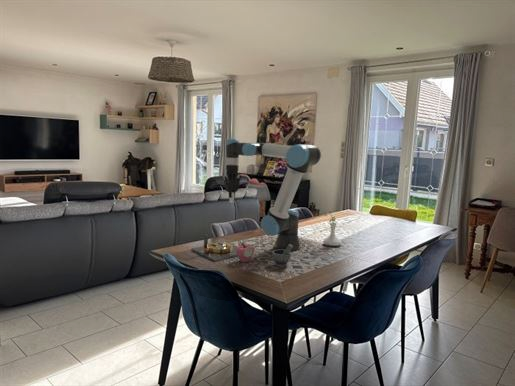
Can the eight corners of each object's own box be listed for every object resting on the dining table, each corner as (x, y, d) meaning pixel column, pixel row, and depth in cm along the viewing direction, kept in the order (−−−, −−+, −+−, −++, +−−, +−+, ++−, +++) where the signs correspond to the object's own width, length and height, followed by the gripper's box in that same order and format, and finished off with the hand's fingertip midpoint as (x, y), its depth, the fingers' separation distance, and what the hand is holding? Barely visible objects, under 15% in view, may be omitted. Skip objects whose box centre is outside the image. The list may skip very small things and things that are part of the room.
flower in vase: (329, 241, 246) (331, 202, 243) (345, 245, 238) (347, 205, 235) (317, 244, 237) (319, 205, 234) (332, 249, 229) (335, 207, 226)
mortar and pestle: (268, 265, 197) (268, 242, 195) (277, 260, 205) (278, 239, 203) (287, 270, 191) (288, 246, 189) (296, 265, 199) (297, 242, 197)
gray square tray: (250, 253, 216) (250, 245, 216) (214, 261, 201) (214, 252, 200) (225, 243, 235) (226, 236, 234) (191, 250, 219) (191, 242, 219)
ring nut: (226, 245, 226) (226, 229, 225) (236, 251, 215) (236, 234, 214) (199, 248, 218) (200, 232, 217) (208, 254, 207) (208, 237, 206)
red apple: (239, 265, 197) (239, 246, 195) (233, 259, 204) (233, 241, 203) (256, 263, 200) (256, 244, 199) (250, 258, 208) (250, 240, 207)
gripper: (237, 163, 241) (236, 201, 244) (219, 164, 232) (219, 202, 236) (244, 164, 235) (243, 202, 238) (227, 165, 227) (226, 204, 230)
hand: (231, 202), depth 237 cm, fingers closed
